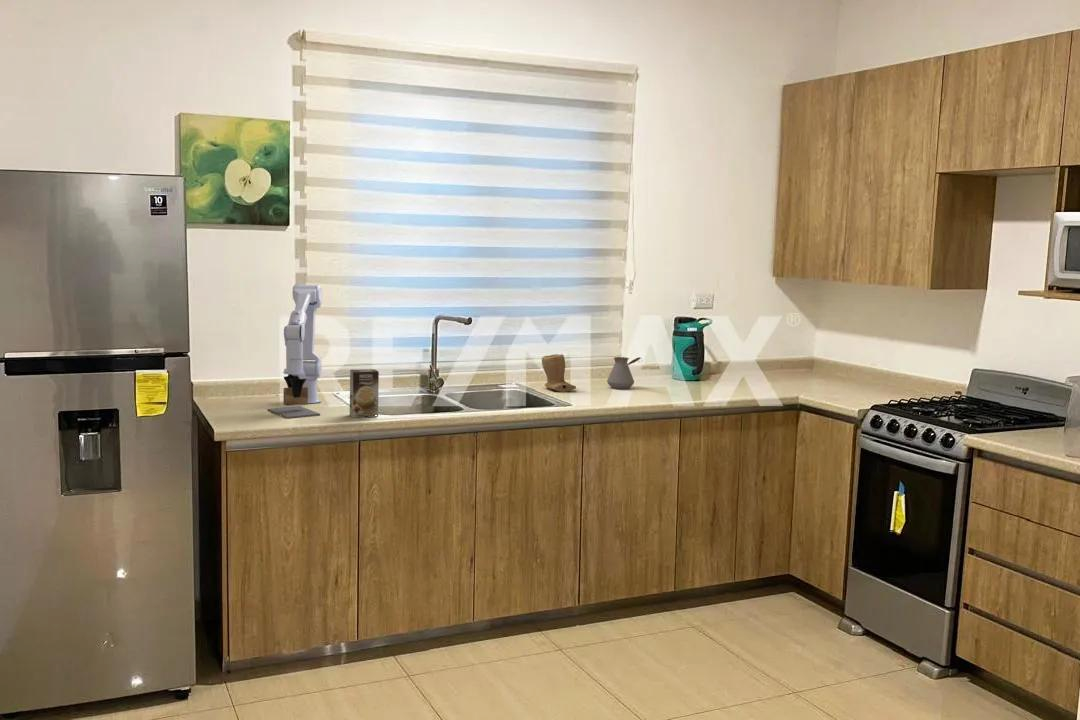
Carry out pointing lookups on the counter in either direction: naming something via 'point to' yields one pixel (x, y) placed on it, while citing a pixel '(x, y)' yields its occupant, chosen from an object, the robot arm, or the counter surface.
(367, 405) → the coffee box
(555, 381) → the brown suede boot
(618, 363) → the coffee pot
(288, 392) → the slab
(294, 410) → the mat
